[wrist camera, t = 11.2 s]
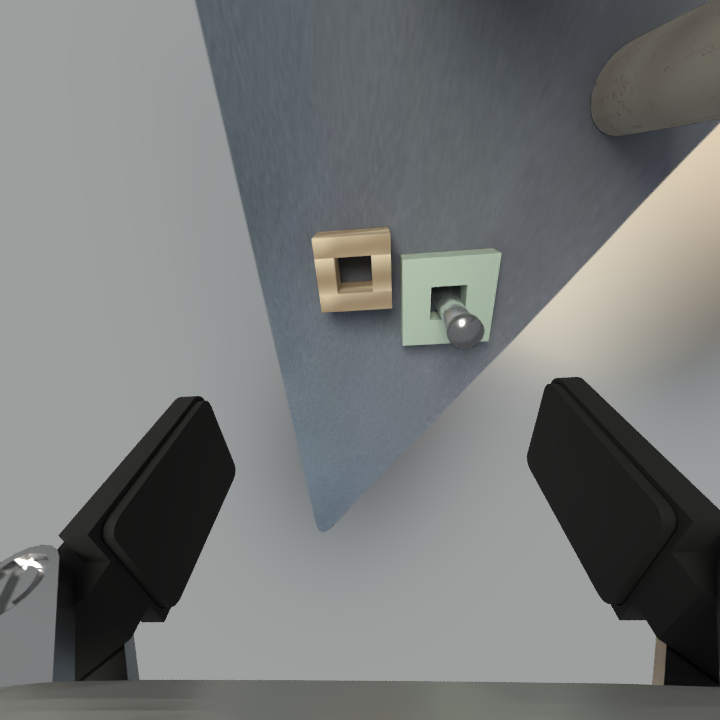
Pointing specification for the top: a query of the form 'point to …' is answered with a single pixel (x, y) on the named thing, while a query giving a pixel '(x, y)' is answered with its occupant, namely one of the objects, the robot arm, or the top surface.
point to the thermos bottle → (663, 77)
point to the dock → (440, 270)
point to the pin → (457, 319)
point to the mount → (360, 292)
